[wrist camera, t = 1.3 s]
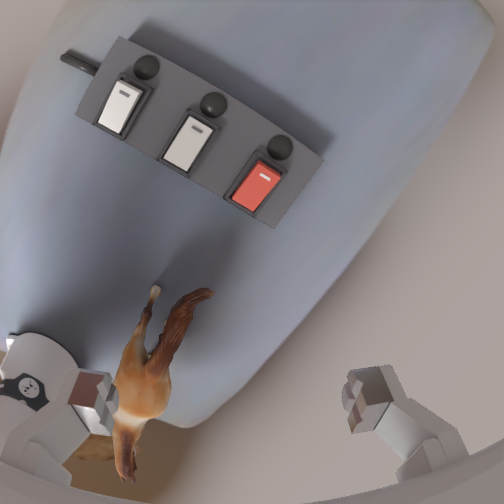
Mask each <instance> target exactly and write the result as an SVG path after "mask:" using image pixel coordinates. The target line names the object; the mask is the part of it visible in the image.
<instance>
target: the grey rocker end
mask: <svg viewBox="0 0 504 504" xmlns="http://www.w3.org/2000/svg"><path fill="white" fill-rule="evenodd" d="M142 92H143V91H141V90H139V89H137V88H135V87H133V86H131V85H129V84H128V83H126V82H124V81H122V80H120V81H117V83H116V85H115V87H114V89H113V91H112V93H111V95H110V97H109V99H108V101H107V103H106V105H105V108H104V110H103V112H102V114H101V117H100V119H99V121H98V123H100V124H102V125H104V126H106V127H107V128H109V129H111V130H113V131H115V132H117V133H118V134H119V133H120V132H122V131H123V129H124V127H125V125H126V123H127V121H128V119H129V117H130V115H131V113H132V111H133V109H134V107H135V105H136V103H137V101H138V99H139V97H140V95H141V94H142Z"/></svg>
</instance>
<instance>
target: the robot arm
mask: <svg viewBox="0 0 504 504" xmlns="http://www.w3.org/2000/svg"><path fill="white" fill-rule="evenodd" d="M6 342H7V348H8V352H7V354H6V356H5V358H4V360H3V362H2V364H1V366H0V374H1V377H2V381H1V383H0V504H150V503H143V502H137V501H131V500H124V499H119V498H114V497H109V496H105V495H100V494H96V493H92V492H88V491H84V490H80V489H76V488H73V487H70V483H71V478H72V476H71V474H70V473H69V472H68V471H67V470H66V469H65V468H64V467H63V466H62V464H63V463H64V462H65V461H66V460H67V459H68V458H69V457H70V455H71V454H72V453H73V452H74V451H75V450H76V449H77V448H78V447H79V446H80V445H81V444H82V443H83V442H84V441H85V440H86V438H87V437H88V436H89V435H90V433H93V434H100V435H106V436H111V435H112V431H113V427H114V423H115V420H114V418H113V416H112V415H113V414H115V413H116V412H117V411H118V407H119V393H118V390H117V387H116V386H115V385H113V384H112V379H113V378H112V376H111V374H110V373H108V372H101V371H94V370H88V369H82V368H78V366H77V364H76V362H75V360H74V359H73V358H72V356H71V355H70V354H69V353H68V352H67V351H66V350H65V349H64V348H63V347H62V346H60V345H59V344H58V343H56V342H55V341H53V340H51V339H49V338H47V337H45V336H43V335H40V334H36V333H24V334H22V335H19V336H15V335H8V337H7V339H6ZM347 378H348V382H347V383H346V384H345V385H344V387H343V390H342V403H343V406H344V409H345V410H346V411H347V412H349V413H350V414H349V416H348V423H349V426H350V430H351V433H352V434H354V433H361V432H366V431H372V430H374V432H375V433H376V434H377V435H378V436H379V437H380V438H381V439H382V440H383V441H384V442H385V443H386V444H387V445H388V446H389V447H390V448H392V449H393V450H394V451H395V452H396V453H397V454H398V455H399V456H400V457H401V458H403V460H405V462H404V463H403V465H401V467H400V468H399V469H398V470H397V471H396V473H395V474H396V477H397V480H398V483H397V484H394V485H390V486H387V487H383V488H379V489H376V490H372V491H368V492H364V493H360V494H355V495H351V496H346V497H341V498H336V499H331V500H324V501H318V502H311V503H304V504H504V438H503V439H502V440H500V441H498V442H496V443H494V444H492V445H490V446H489V447H487V448H485V449H483V450H481V451H479V452H476V453H475V454H472V455H470V456H469V453H468V451H467V449H466V447H465V445H464V443H463V440H462V438H461V436H460V434H459V432H458V430H457V428H455V427H454V426H452V425H451V424H449V423H448V422H446V421H445V420H443V419H442V418H440V417H439V416H437V415H436V414H434V413H433V412H431V411H430V410H428V409H427V408H425V407H424V406H422V405H421V404H420V403H418V402H417V401H415V400H414V399H412V398H407V396H406V394H405V392H404V390H403V387H402V386H401V383H400V382H399V379H398V377H397V375H396V373H395V372H394V369H393V367H392V366H391V365H384V366H377V367H376V366H375V367H368V368H361V369H354V370H350V372H349V373H348V375H347Z"/></svg>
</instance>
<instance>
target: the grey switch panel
mask: <svg viewBox="0 0 504 504" xmlns="http://www.w3.org/2000/svg"><path fill="white" fill-rule="evenodd" d="M60 60H61V61H63V62H65V63H67V64H69V65H71V66H73V67H76V68H78V69H80V70H82V71H84V72H86V73H88V74H90V75H92V76H94V78H93V80H92V82H91V84H90V85H89V87H88V89H87V91H86V93H85V95H84V97H83V99H82V101H81V103H80V105H79V107H78V109H77V111H76V113H75V115H77V116H78V117H80V118H82V119H84V120H86V121H88V122H90V123H91V124H92V125H94V126H96V127H98V128H100V129H102V130H103V131H105V132H107V133H109V134H111V135H113V136H114V137H116V138H118V139H120V140H122V141H124V142H126V143H128V144H129V145H131V146H133V147H135V148H137V149H138V150H140V151H142V152H144V153H145V154H147V155H149V156H151V157H153V158H154V159H156V160H157V161H159V162H161V163H162V164H164V165H166V166H168V167H169V168H171V169H173V170H175V171H176V172H178V173H180V174H181V175H183V176H185V177H187V178H188V179H191V180H192V181H194V182H196V183H198V184H199V185H201V186H203V187H204V188H206V189H208V190H210V191H211V192H213V193H215V194H216V195H218V196H220V197H221V198H223V199H224V200H226V201H227V202H229V203H231V204H232V205H234V206H236V207H237V208H239V209H241V210H242V211H244V212H246V213H247V214H249V215H251V216H252V217H254V218H256V219H258V220H260V221H261V222H263V223H265V224H266V225H268V226H269V227H271V228H273V229H274V228H275V226H276V225H277V224H278V222H279V221H280V220H281V218H282V217H283V216H284V214H285V213H286V212H287V210H288V209H289V207H290V206H291V205H292V203H293V202H294V201H295V199H296V198H297V197H298V195H299V194H300V193H301V191H302V190H303V189H304V187H305V186H306V185H307V183H308V182H309V181H310V179H311V178H312V177H313V175H314V174H315V173H316V171H317V170H318V168H319V167H320V166H321V164H322V163H323V162H324V160H323V159H322V158H321V157H319V156H318V155H317V154H315V153H314V152H313V151H311V150H310V149H309V148H307V147H306V146H305V145H303V144H302V143H300V142H299V141H298V140H296V139H295V138H293V137H292V136H291V135H289V134H288V133H286V132H285V131H284V130H282V129H281V128H279V127H278V126H276V125H275V124H273V123H272V122H270V121H269V120H267V119H266V118H264V117H263V116H261V115H260V114H258V113H257V112H255V111H254V110H252V109H251V108H249V107H248V106H246V105H244V104H243V103H241V102H240V101H238V100H237V99H235V98H233V97H232V96H230V95H228V94H227V93H225V92H224V91H222V90H220V89H219V88H217V87H215V86H214V85H212V84H210V83H208V82H207V81H205V80H203V79H202V78H200V77H198V76H196V75H195V74H193V73H191V72H189V71H187V70H186V69H184V68H182V67H180V66H178V65H176V64H174V63H173V62H171V61H169V60H167V59H165V58H163V57H161V56H159V55H157V54H155V53H153V52H151V51H149V50H147V49H145V48H143V47H141V46H139V45H137V44H135V43H133V42H131V41H129V40H126V39H124V38H122V37H120V36H119V37H118V38H117V40H116V41H115V43H114V44H113V46H112V48H111V49H110V51H109V52H108V54H107V56H106V57H105V59H104V61H103V62H102V64H101V66H100V67H99V69H97V68H95V67H93V66H91V65H89V64H87V63H85V62H82V61H80V60H78V59H76V58H74V57H72V56H69V55H67V54H62V55H61V56H60ZM120 80H122V81H124V82H126V83H128V84H129V85H131V86H133V87H135V88H137V89H139V90H141V91H143V92H142V94H141V95H140V97H139V99H138V101H137V103H136V105H135V107H134V109H133V111H132V113H131V115H130V117H129V119H128V121H127V123H126V125H125V127H124V129H123V131H122V132H120V133H119V134H118V133H117V132H115V131H113V130H111V129H109V128H107V127H106V126H104V125H102V124H100V123H98V121H99V119H100V117H101V114H102V112H103V110H104V108H105V105H106V103H107V101H108V99H109V97H110V95H111V93H112V91H113V89H114V87H115V85H116V83H117V81H120ZM189 117H192V118H194V119H195V120H197V121H199V122H200V123H202V124H204V125H205V126H207V127H209V128H210V129H212V130H213V131H212V132H211V134H210V135H209V137H208V138H207V140H206V141H205V143H204V145H203V146H202V148H201V149H200V151H199V152H198V154H197V156H196V157H195V159H194V160H193V162H192V164H191V165H190V167H189V169H188V170H187V171H185V170H183V169H182V168H180V167H178V166H176V165H175V164H173V163H171V162H170V161H168V160H166V159H164V156H165V154H166V153H167V151H168V150H169V148H170V146H171V145H172V143H173V141H174V140H175V138H176V137H177V135H178V134H179V132H180V130H181V129H182V127H183V126H184V124H185V123H186V121H187V120H188V118H189ZM258 160H259V161H261V162H262V163H264V164H265V165H267V166H268V167H270V168H271V169H273V170H274V171H276V172H277V173H279V174H280V177H281V178H280V180H279V181H278V182H277V183H276V184H275V186H274V187H273V188H272V189H271V191H270V192H269V193H268V194H267V195H266V197H265V198H264V199H263V200H262V202H261V203H260V204H259V205H258V206H257V208H256V209H255V210H254V211H251V210H249V209H248V208H246V207H244V206H243V205H241V204H239V203H238V202H236V201H234V200H233V199H232V195H233V193H234V192H235V191H236V189H237V188H238V187H239V185H240V184H241V183H242V181H243V180H244V179H245V177H246V176H247V175H248V173H249V172H250V171H251V169H252V168H253V167H254V165H255V164H256V163H257V162H258Z"/></svg>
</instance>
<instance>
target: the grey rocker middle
mask: <svg viewBox="0 0 504 504" xmlns="http://www.w3.org/2000/svg"><path fill="white" fill-rule="evenodd" d="M212 131H213V130H212V129H210V128H209V127H207V126H205V125H204V124H202V123H200V122H199V121H197V120H195V119H194V118H192V117H189V118H188V120H187V121H186V123H185V124H184V126H183V127H182V129H181V130H180V132H179V134H178V135H177V137H176V138H175V140H174V141H173V143H172V145H171V146H170V148H169V150H168V151H167V153H166V154H165V156H164V159H166V160H168V161H170V162H171V163H173V164H175V165H176V166H178V167H180V168H182V169H183V170H185V171H187V170H188V169H189V167H190V165H191V164H192V162H193V160H194V159H195V157H196V156H197V154H198V152H199V151H200V149H201V148H202V146H203V145H204V143H205V141H206V140H207V138H208V137H209V135H210V134H211V132H212Z"/></svg>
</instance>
